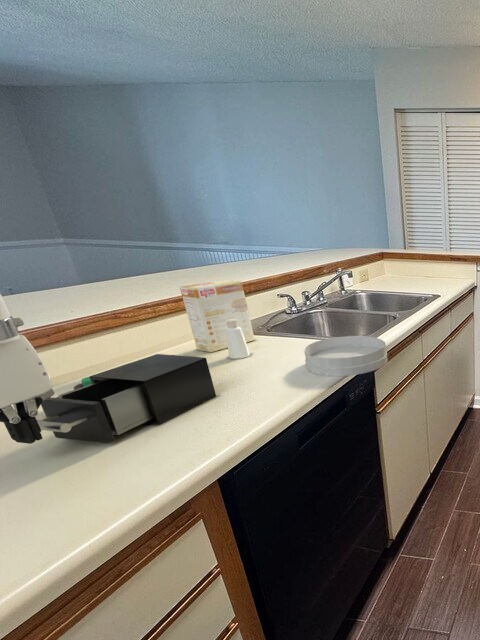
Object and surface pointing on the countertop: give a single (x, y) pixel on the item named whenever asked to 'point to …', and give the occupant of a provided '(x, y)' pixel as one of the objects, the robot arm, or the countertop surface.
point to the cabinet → (166, 383)
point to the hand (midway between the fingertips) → (29, 440)
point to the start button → (86, 381)
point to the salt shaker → (236, 340)
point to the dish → (345, 355)
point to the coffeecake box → (216, 312)
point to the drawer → (96, 411)
